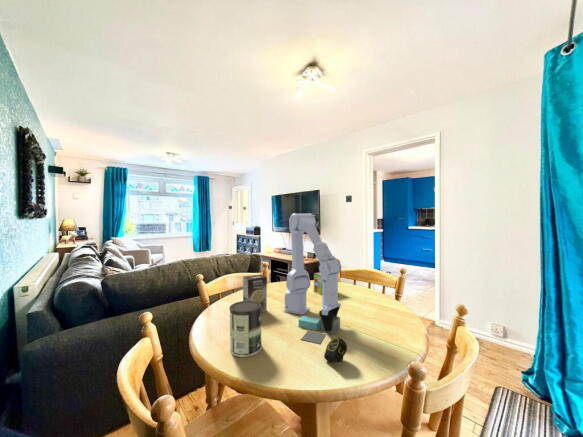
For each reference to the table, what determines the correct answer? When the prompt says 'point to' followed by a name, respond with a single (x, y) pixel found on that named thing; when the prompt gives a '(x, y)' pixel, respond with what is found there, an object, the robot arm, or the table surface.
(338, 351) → the tape measure
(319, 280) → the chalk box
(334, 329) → the dice cube
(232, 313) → the coffee can
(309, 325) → the turquoise box
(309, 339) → the stub pad
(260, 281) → the coffee box
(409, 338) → the table surface
